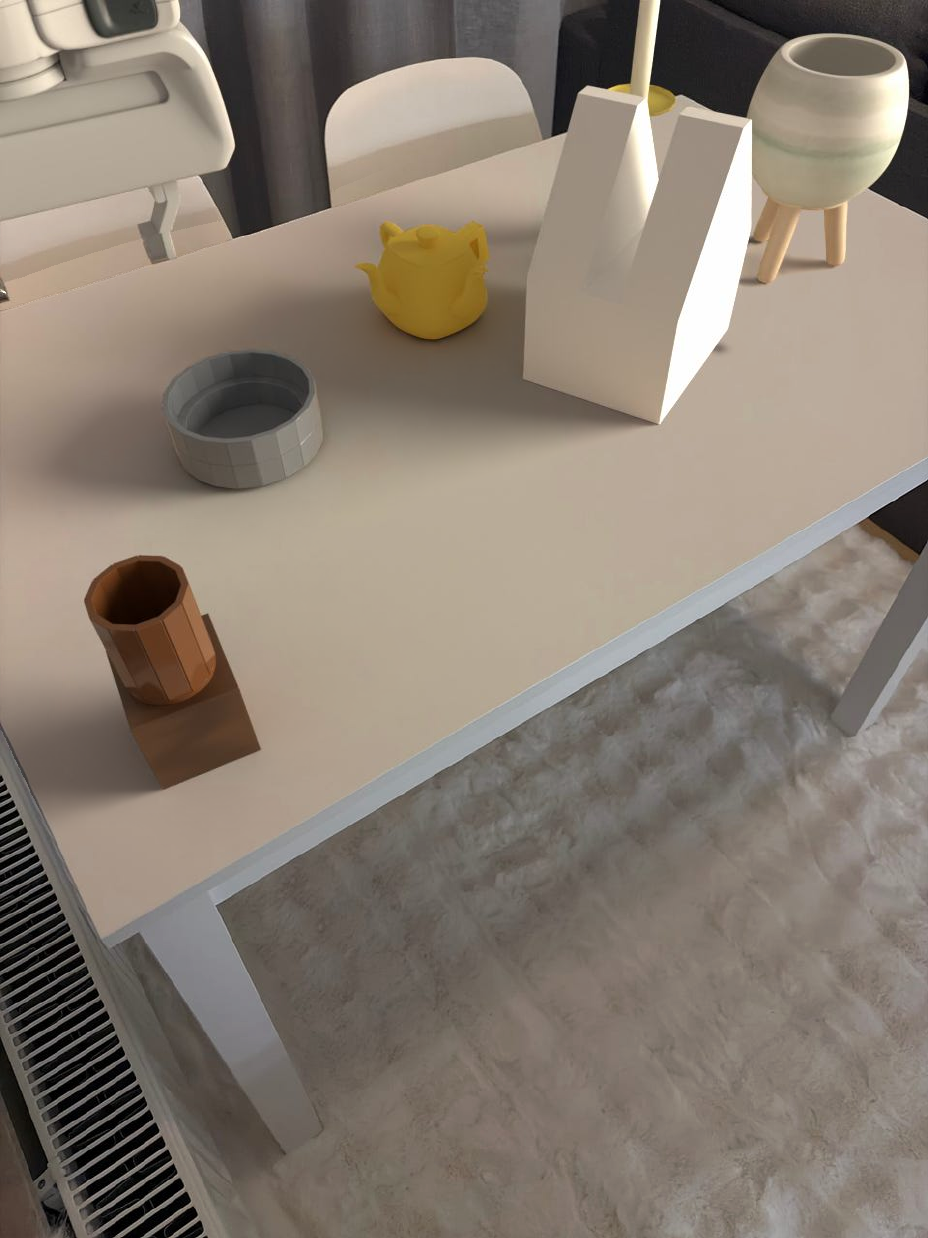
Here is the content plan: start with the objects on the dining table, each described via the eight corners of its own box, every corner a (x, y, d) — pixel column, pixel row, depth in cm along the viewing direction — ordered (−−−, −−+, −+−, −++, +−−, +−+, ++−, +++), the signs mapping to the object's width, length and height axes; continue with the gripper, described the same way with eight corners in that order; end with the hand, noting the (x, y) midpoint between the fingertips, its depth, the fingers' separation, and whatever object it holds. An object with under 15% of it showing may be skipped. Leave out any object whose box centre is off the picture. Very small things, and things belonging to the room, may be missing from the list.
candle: (677, 225, 116) (730, -91, 91) (633, 257, 111) (676, -67, 86) (612, 201, 120) (646, -107, 95) (567, 231, 116) (589, -85, 91)
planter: (732, 219, 117) (774, 19, 100) (863, 240, 113) (930, 35, 96) (705, 283, 107) (747, 74, 90) (847, 308, 103) (919, 95, 86)
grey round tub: (201, 510, 84) (185, 460, 80) (162, 424, 93) (145, 374, 88) (345, 463, 88) (337, 413, 84) (295, 384, 96) (285, 334, 92)
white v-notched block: (659, 424, 91) (705, 169, 72) (523, 378, 96) (532, 129, 77) (727, 328, 101) (784, 83, 82) (601, 291, 107) (627, 53, 87)
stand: (163, 790, 66) (129, 729, 60) (138, 713, 70) (105, 650, 64) (261, 749, 68) (238, 687, 62) (231, 677, 72) (208, 612, 66)
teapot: (363, 346, 100) (353, 262, 93) (382, 281, 109) (374, 198, 101) (488, 352, 99) (488, 267, 92) (497, 285, 108) (498, 202, 100)
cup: (136, 719, 60) (96, 644, 54) (115, 652, 64) (76, 575, 58) (227, 684, 62) (199, 607, 56) (202, 621, 65) (172, 542, 59)
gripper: (-284, 65, 37) (-109, 357, 48) (207, -22, 42) (265, 259, 53) (-278, 17, 41) (-117, 298, 51) (173, -58, 46) (234, 212, 57)
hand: (80, 278), depth 52 cm, fingers open, 8 cm apart
